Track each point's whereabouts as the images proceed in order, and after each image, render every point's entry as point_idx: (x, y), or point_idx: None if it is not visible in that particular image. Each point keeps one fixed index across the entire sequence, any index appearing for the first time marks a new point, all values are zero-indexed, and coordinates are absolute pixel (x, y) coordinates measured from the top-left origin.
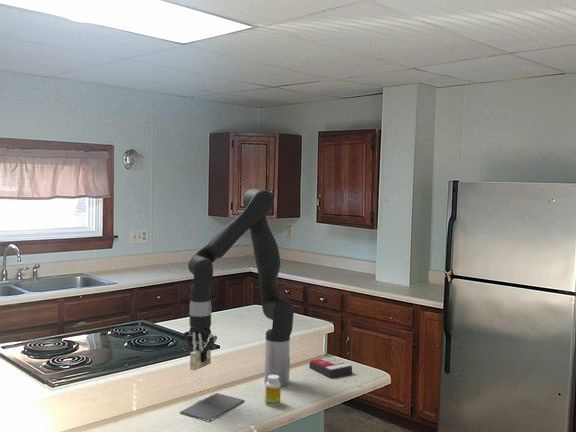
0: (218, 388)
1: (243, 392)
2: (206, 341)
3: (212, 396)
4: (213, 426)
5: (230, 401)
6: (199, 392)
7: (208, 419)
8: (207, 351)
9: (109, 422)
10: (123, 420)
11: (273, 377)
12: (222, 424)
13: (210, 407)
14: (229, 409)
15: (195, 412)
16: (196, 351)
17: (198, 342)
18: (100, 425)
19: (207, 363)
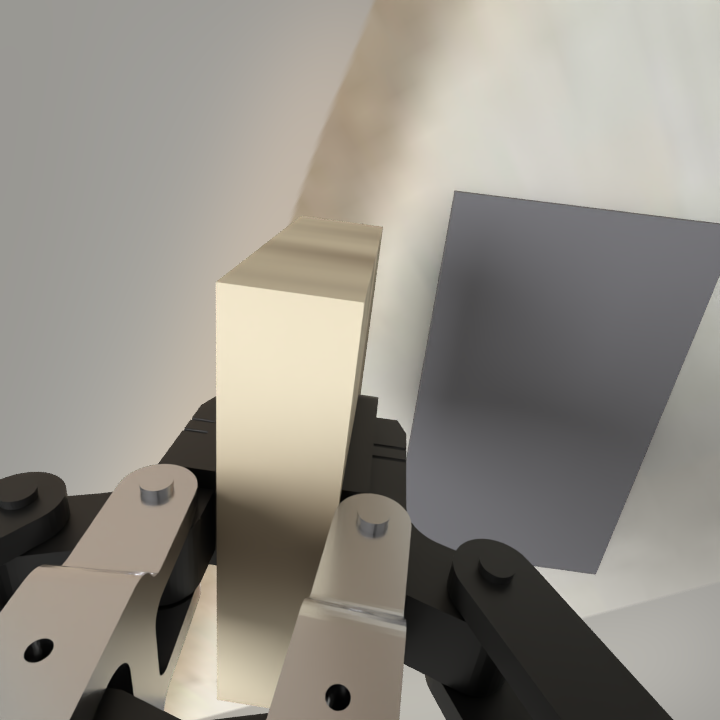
0: (401, 39)
1: (669, 14)
2: (373, 712)
3: (458, 274)
4: (631, 596)
5: (630, 302)
6: (307, 212)
7: (586, 570)
8: (355, 390)
9: (176, 689)
10: (208, 663)
11: None
12: (672, 566)
13: (530, 442)
14: (659, 410)
15: (476, 528)
16: (266, 635)
17: (144, 675)
18: (169, 713)
19: (371, 306)
